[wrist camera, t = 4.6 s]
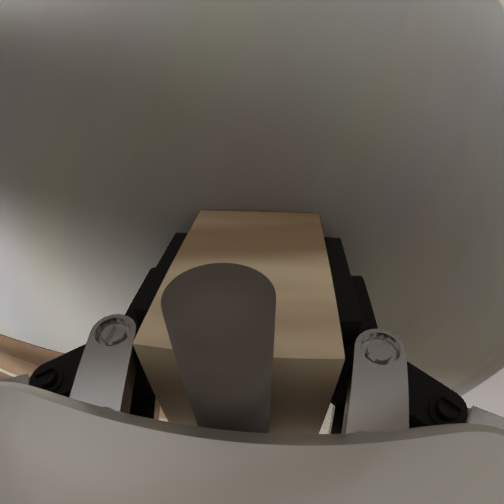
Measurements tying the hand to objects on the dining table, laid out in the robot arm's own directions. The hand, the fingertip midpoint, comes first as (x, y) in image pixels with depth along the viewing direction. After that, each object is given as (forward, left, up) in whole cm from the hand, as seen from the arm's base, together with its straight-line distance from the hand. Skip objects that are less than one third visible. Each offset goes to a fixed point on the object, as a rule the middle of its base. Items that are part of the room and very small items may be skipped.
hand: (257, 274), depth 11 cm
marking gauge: (0, 0, -1) cm, 1 cm away
